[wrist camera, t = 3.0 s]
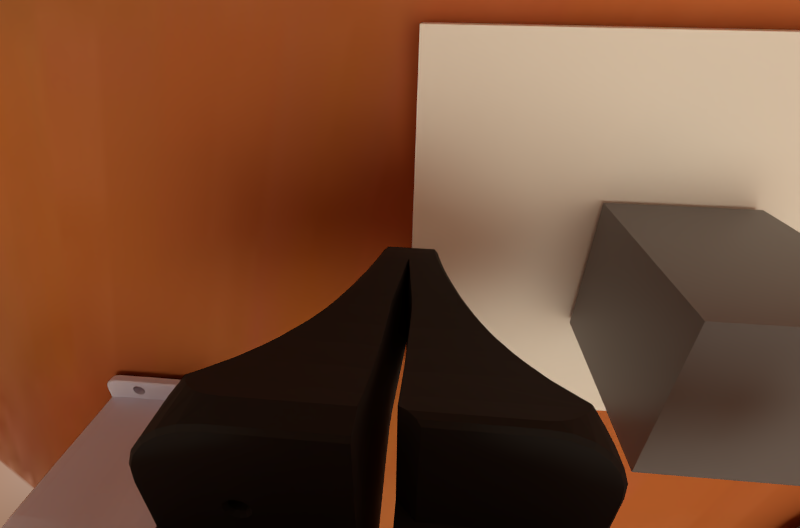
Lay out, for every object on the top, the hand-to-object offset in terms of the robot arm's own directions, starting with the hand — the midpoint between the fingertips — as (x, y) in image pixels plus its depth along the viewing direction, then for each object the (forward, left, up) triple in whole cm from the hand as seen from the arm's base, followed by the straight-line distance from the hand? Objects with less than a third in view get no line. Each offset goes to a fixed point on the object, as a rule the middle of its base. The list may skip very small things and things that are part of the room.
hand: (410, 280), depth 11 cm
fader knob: (+7, 0, -1) cm, 7 cm away
